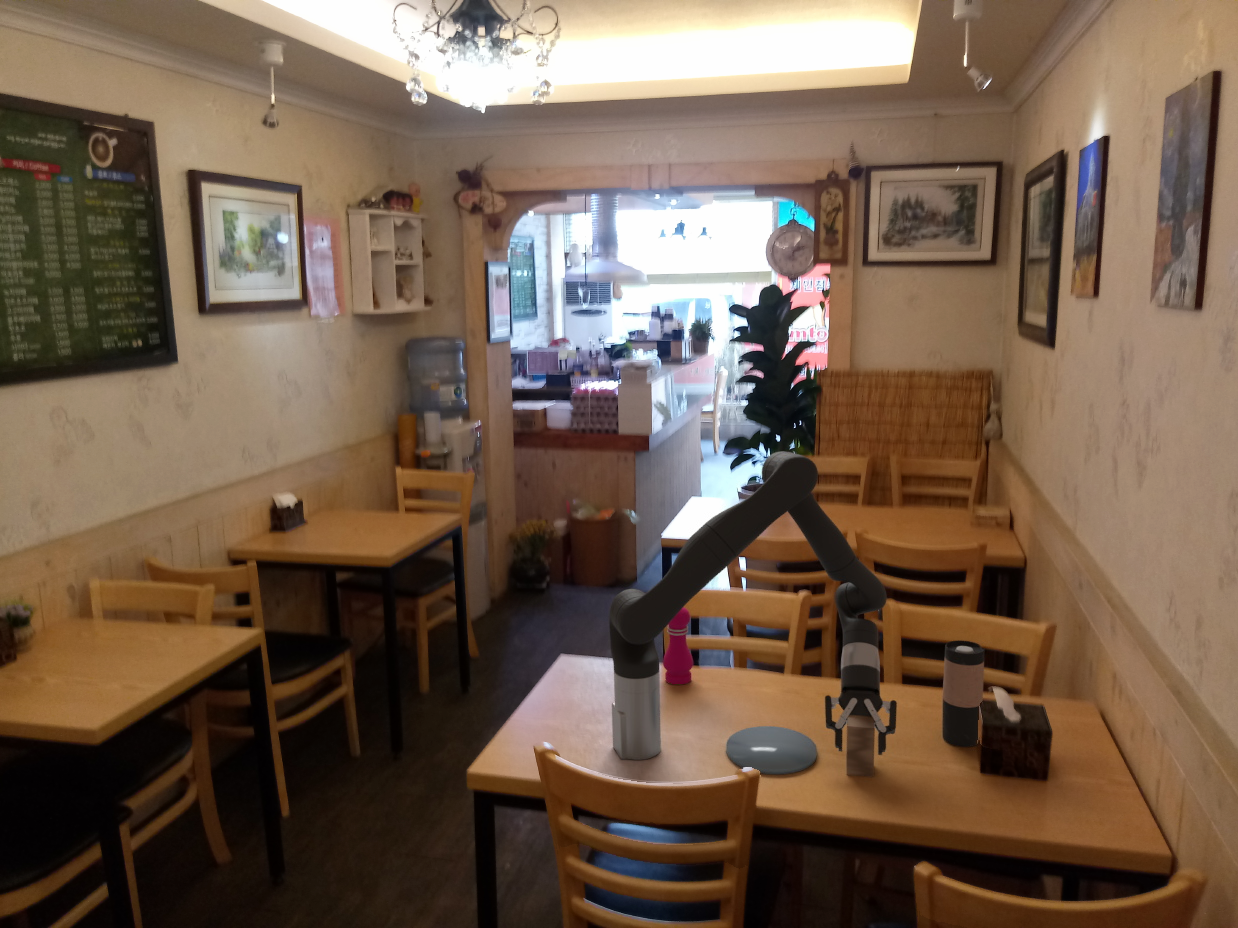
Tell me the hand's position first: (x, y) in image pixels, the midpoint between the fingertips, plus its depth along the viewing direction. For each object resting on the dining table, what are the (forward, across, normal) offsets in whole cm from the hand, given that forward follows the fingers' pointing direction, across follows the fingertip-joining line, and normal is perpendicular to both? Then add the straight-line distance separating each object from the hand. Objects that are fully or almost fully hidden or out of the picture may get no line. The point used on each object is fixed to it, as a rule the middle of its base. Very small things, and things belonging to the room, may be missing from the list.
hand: (860, 751), depth 178 cm
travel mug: (-9, +20, +16) cm, 28 cm away
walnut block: (+2, 0, +4) cm, 5 cm away
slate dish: (-1, -17, +7) cm, 19 cm away
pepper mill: (-23, -42, +30) cm, 56 cm away
